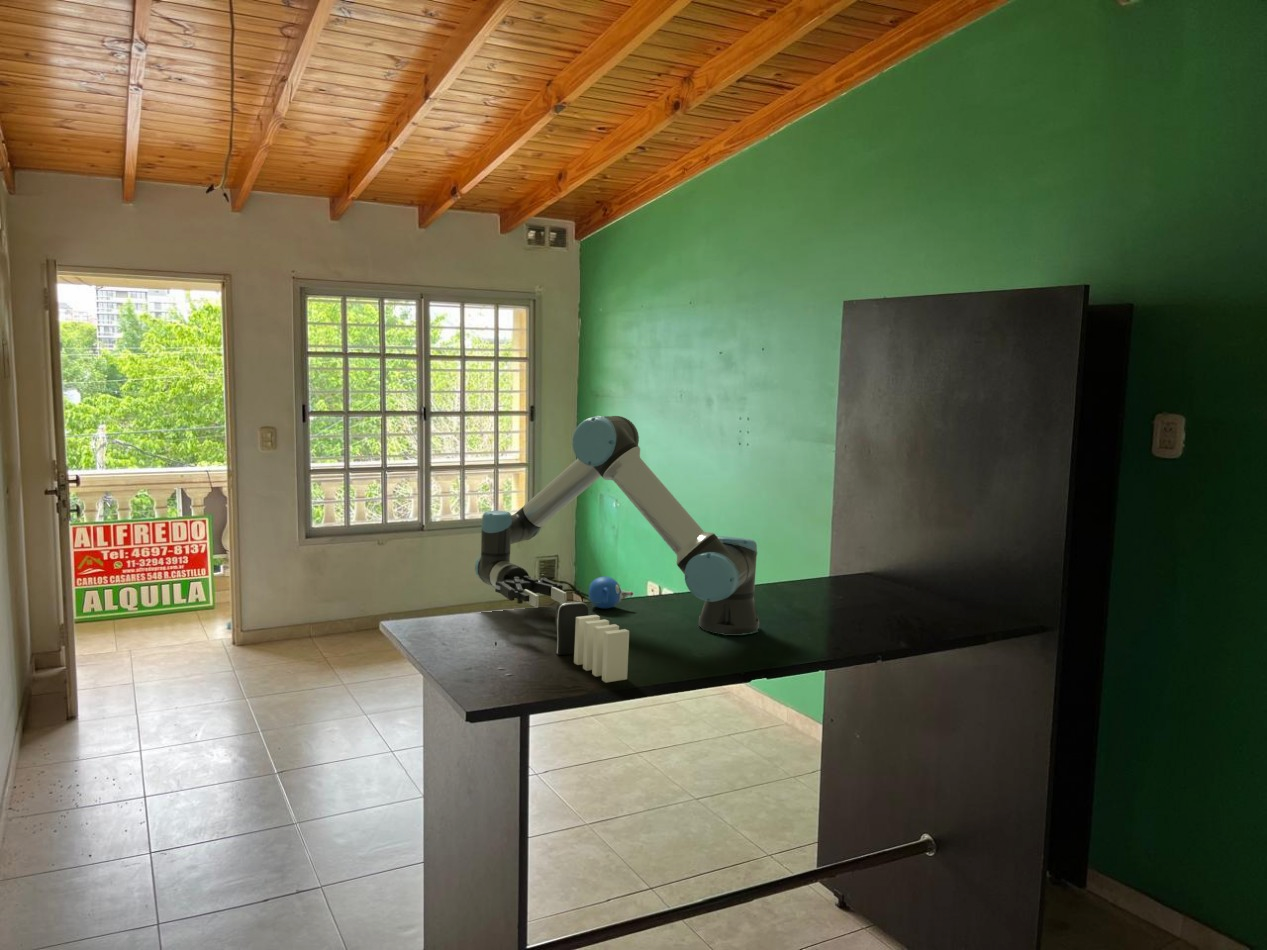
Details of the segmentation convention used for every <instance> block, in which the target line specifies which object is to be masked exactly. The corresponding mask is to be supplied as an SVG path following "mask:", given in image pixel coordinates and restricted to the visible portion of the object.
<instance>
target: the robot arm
mask: <svg viewBox="0 0 1267 950" xmlns="http://www.w3.org/2000/svg"><path fill="white" fill-rule="evenodd" d="M639 439H640V436H639V432H638V429H637V427H636V425H635V424H634V422H632V421H631V420H630V419H628V418H627V417H624V416H621V415H620V416H619V415H611V416H603V415H595V416H592V417H589V418H585V419H583V421H581V422H580V423H579V424H578V425H577V426H576V428H575V430H574V432H573V435H572V449H573V453H574V455H575V457H576V459H575V460H574V461H573V462H572V463H571V464H570V465H568V467H566V468H565V469H564V470H563V471H562V472H560V474H558V475H557V476H556V477H555V478H553V480H551V481H550V482H549V483H548V484H547V485H546V486H545V487H544V488H542V489H541V490H540V491H539V492H538V493H537V494H535V495H534V496H533V497H532V498H531V499H530V500H529V501H528V502H527V503H525V504H524V505H523V506H522V507H521V508H520V509H519V510H517V511H516V512H515V513H514V514H511V512H509V511H506V510H487V511H485V512H484V513H482V521H481V525H480V526H481V527H480V528H481V536H480V537H481V542H480V546H481V547H480V551H481V552H480V556H479V557H478V558H477V561H476V562H475V565H474V571H475V575H476V576H477V578H479V579H480V580H481V581H482V582H483V583H484V584H486V585H489V586H491V587H493V588H495V590H494V591H495V593H498V594H501V595H502V596H503V597H505V598H506V599H507V600H508V601H515V599H516V600H517V602H516V603H517V604H523V602H525V603H527V604H528V605H530V606H532V607H534V608H539V600H540V599H539V598H540V597H539V594H541V595H544V596H549V597H550V600H551V599H552V600H554V601H556V603H557V602H558V604H559V603H561V602H567V596H568V595H567V594H568V593H567V592H565V591H564V590H563V589H564V585H562V584H560V583H558V582H555V581H552V580H550V579H548V578H547V577H541V578H540V580H539V579H538V578H533V577H531V576H530V574H529V572H528V571H527V570H526V569H524V568H523V567H521V566H518V565H517V564H515V563H513V562H510V561H511V560H510V559H511V545H514V544H517V543H519V542H524V541H529V540H531V539H532V538H535V537H537V536H538V534H539V533H540V531H541V528H542V527H543V526H545V525H546V524H547V523H548V522H549V521H550V520H552V519H553V518H554V517H555V516H556V515H557V514H559V512H561V511H562V510H564V509H565V507H567V506H568V505H569V504H570V503H571V502H573V501H574V500H575V499H576V498H577V497H579V496H580V495H581V494H582V493H583V492H584V491H585V490H587V489H588V488H589V487H590V486H592V484H594V483H595V482H596V481H597V480H598V479H600V478H603V479H602V480H606V481H613V482H614V483H615V485H617V487H618V488H619V489H620V490H621V492H623V494H624V495H625V496H626V497H627V498H628V500H629V502H631V503H632V504H633V505H634V507H635V508H636V509H637V511H638V512H640V514H641V515H642V516H643V517H644V519H645V520H646V521H647V522H648V523H649V524H650V525H651V527H652V528H653V529H654V530H655V531H656V533H657V534H658V535H659V536H660V537H661V538H662V540H663V541H664V542H665V543H666V544H667V546H669V548H670V550H672V551H673V553H674V554H675V555H676V567H678V568H679V569H680V571H681V572H682V573H683V574H684V582H685V585H686V588H687V589H688V590H689V592H690V593H691V594H692V595H693V596H694V597H696V598H698V599H699V600H701V601H704V603H703V606H702V609H701V613H700V614H699V617H698V627H699V626H700V627H701V628H702V629H704V630H708V631H712V632H717V633H724V634H742V633H750V632H753V631H756V630H757V629H758V628H759V629H760V619H759V615H758V611H757V606H756V603H755V599H754V598H755V583H756V572H757V571H756V570H757V568H756V567H757V555H758V550H757V549H758V545H757V542H756V541H755V540H753V539H750V538H744V537H743V538H742V537H735V536H734V537H733V536H722V535H721V536H720V535H716V533H714V532H707V531H705V530H704V529H703V528H701V526H700V525H699V523H697V521H696V520H695V519H694V518H693V517H692V516H691V514H689V512H688V511H687V510H686V509H685V508H684V507H683V505H682V504H681V503H680V502H679V501H678V500H677V498H676V497H675V496H674V494H673V493H671V492H670V490H669V489H668V488H667V487H666V486H665V484H663V482H662V481H661V480H660V479H659V478H658V477H657V475H656V474H655V473H654V472H653V471H652V470H651V469H650V468H649V466H648V465H647V463H646V462H644V460H643V459H642V458H641V447H640V446H639V444H640V443H639V441H640V440H639ZM700 627H699V628H700ZM701 628H700V629H701ZM702 629H701V630H702ZM704 630H703V631H704Z"/></svg>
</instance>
